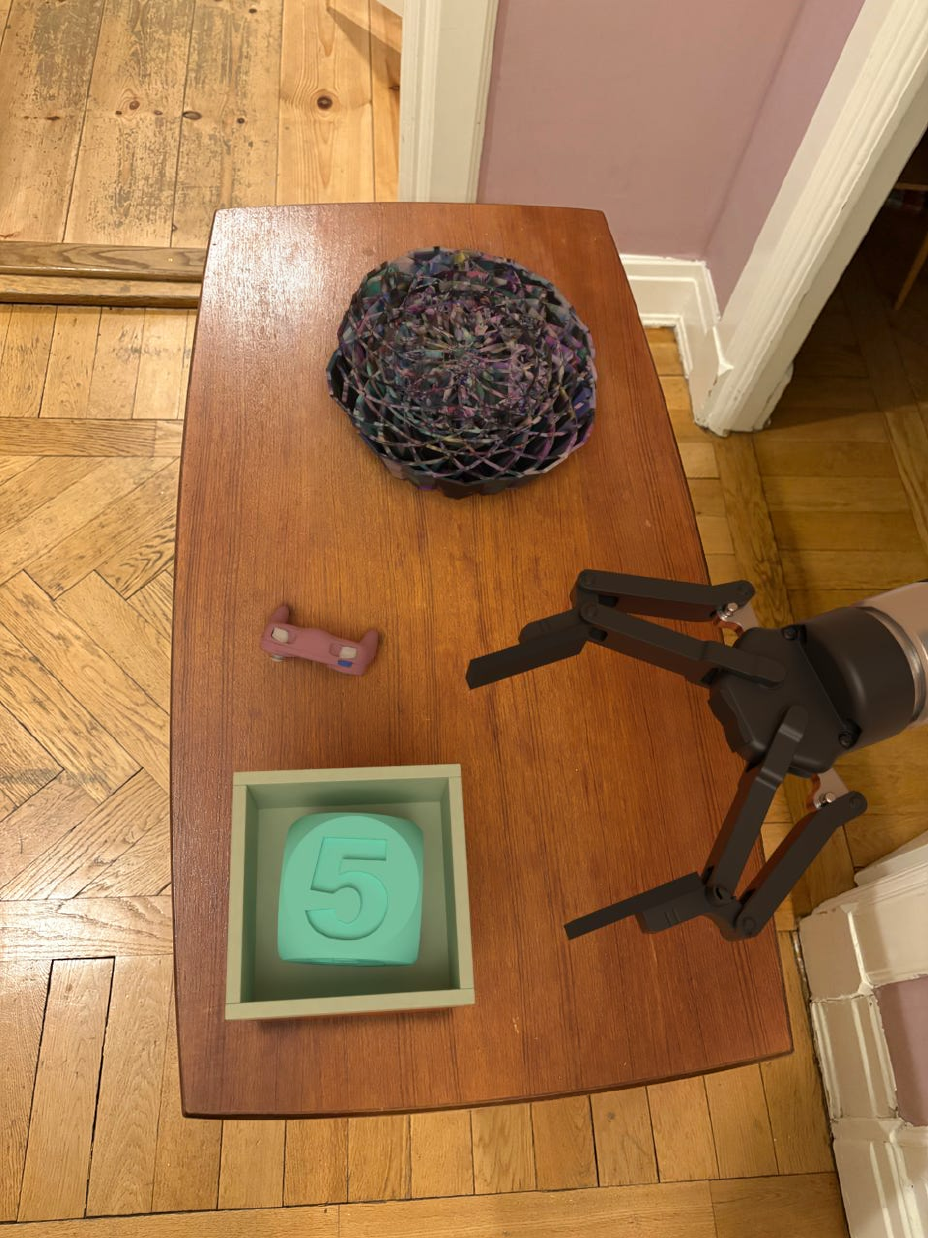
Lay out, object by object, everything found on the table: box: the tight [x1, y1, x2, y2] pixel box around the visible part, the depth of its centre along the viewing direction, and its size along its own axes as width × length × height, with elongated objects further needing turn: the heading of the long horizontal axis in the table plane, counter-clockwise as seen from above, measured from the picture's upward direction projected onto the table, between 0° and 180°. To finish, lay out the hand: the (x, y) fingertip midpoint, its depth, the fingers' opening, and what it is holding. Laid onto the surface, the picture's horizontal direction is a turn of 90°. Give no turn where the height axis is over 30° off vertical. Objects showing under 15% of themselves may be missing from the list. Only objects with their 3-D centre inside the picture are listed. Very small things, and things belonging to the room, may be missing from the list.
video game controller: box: [258, 604, 379, 676], centre depth 82 cm, size 10×5×7 cm, turn 76°
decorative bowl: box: [325, 245, 599, 501], centre depth 93 cm, size 26×28×10 cm
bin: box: [224, 763, 476, 1021], centre depth 58 cm, size 14×14×8 cm
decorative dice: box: [278, 813, 423, 967], centre depth 57 cm, size 8×8×8 cm
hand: (517, 797), depth 47 cm, fingers open, 13 cm apart
